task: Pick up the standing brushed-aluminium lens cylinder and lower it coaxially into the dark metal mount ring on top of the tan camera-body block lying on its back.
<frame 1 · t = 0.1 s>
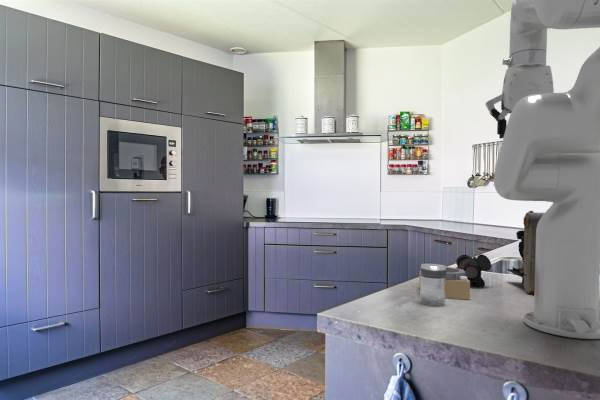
hand: (525, 137, 96), 37 cm above the counter, tool pointing down, fingers open, 9 cm apart
night vision scope: (468, 282, 112), on the counter
lens: (432, 303, 89), on the counter
mount: (442, 293, 98), on the counter
vintage camera: (534, 289, 105), on the counter
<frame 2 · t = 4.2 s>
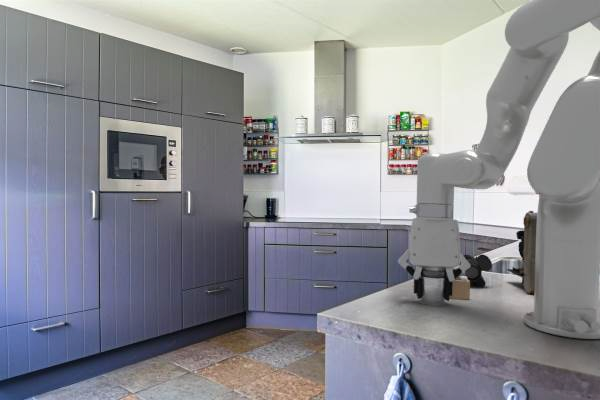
hand: (432, 297, 89), 1 cm above the counter, tool pointing down, fingers closed on lens, 5 cm apart
lens: (432, 303, 89), on the counter, touching gripper
everything else where it was.
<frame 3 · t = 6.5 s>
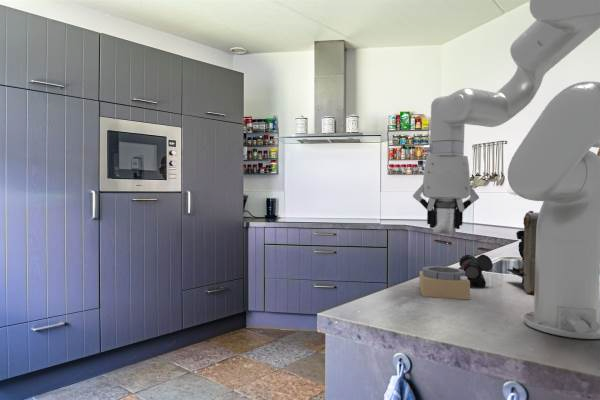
hand: (444, 227, 98), 15 cm above the counter, tool pointing down, fingers closed on lens, 5 cm apart
lens: (444, 232, 98), point 14 cm above the counter, touching gripper
everything else where it was.
when the fingers open (7 cm above the counter, at t = 9.1 s): lens drops 1 cm, resting on mount.
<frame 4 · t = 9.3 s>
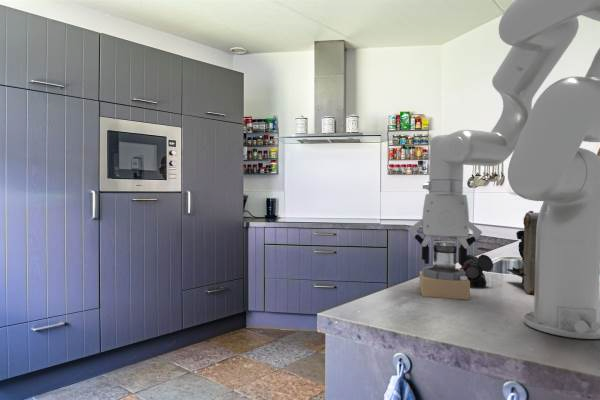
hand: (443, 263, 98), 7 cm above the counter, tool pointing down, fingers open, 7 cm apart
lens: (443, 276, 98), point 4 cm above the counter, touching mount
everything else where it was.
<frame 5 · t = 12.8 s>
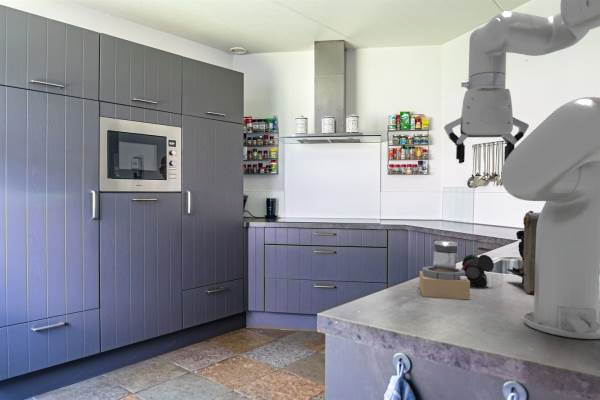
hand: (484, 163, 93), 30 cm above the counter, tool pointing down, fingers open, 9 cm apart
at the end: lens 0.1 cm off-centre on the mount, point 4.1 cm above the mount's base; lens tilted 2°; the gripper is holding nothing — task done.
